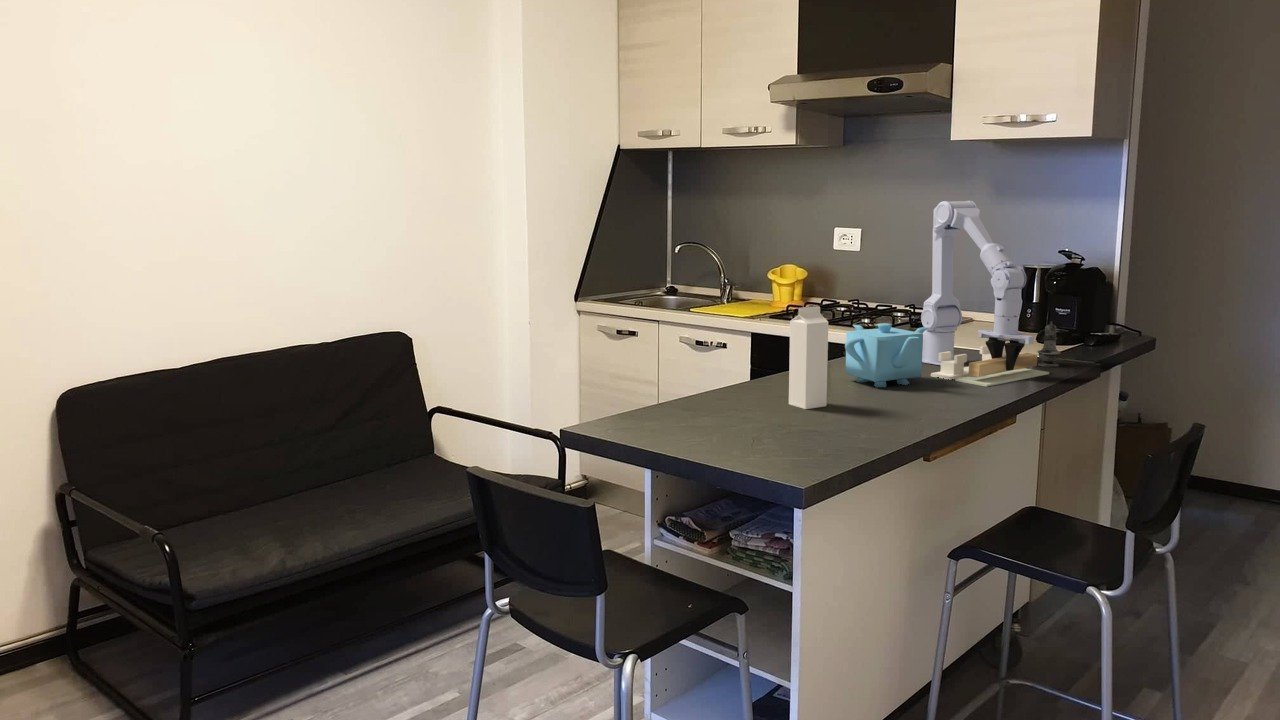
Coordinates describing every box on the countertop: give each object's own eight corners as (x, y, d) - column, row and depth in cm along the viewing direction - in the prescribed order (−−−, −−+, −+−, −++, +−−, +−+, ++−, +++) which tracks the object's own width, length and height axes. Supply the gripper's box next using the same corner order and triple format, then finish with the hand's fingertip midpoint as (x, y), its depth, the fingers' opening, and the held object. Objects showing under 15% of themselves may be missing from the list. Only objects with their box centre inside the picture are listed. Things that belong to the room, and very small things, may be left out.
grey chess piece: (1056, 363, 262) (1059, 319, 260) (1063, 367, 256) (1066, 322, 254) (1033, 363, 263) (1036, 319, 261) (1040, 366, 257) (1043, 322, 255)
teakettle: (839, 387, 233) (841, 327, 231) (851, 373, 251) (852, 317, 248) (920, 392, 227) (923, 330, 224) (926, 377, 244) (929, 320, 242)
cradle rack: (930, 376, 246) (931, 353, 245) (993, 364, 260) (994, 343, 259) (950, 379, 241) (951, 357, 240) (1012, 368, 255) (1014, 346, 254)
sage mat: (955, 380, 240) (955, 378, 239) (1017, 369, 254) (1018, 367, 254) (986, 386, 232) (986, 384, 232) (1049, 374, 247) (1049, 372, 247)
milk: (826, 406, 213) (829, 307, 209) (805, 409, 210) (807, 309, 206) (808, 401, 218) (811, 304, 214) (787, 404, 216) (790, 306, 212)
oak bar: (968, 374, 237) (969, 362, 237) (1026, 364, 251) (1026, 352, 250) (978, 376, 235) (979, 364, 234) (1036, 365, 248) (1037, 354, 248)
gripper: (971, 314, 244) (969, 366, 246) (1022, 320, 232) (1019, 375, 235) (988, 311, 248) (986, 363, 250) (1040, 317, 236) (1036, 371, 239)
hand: (1003, 369), depth 243 cm, fingers closed on oak bar, 3 cm apart
